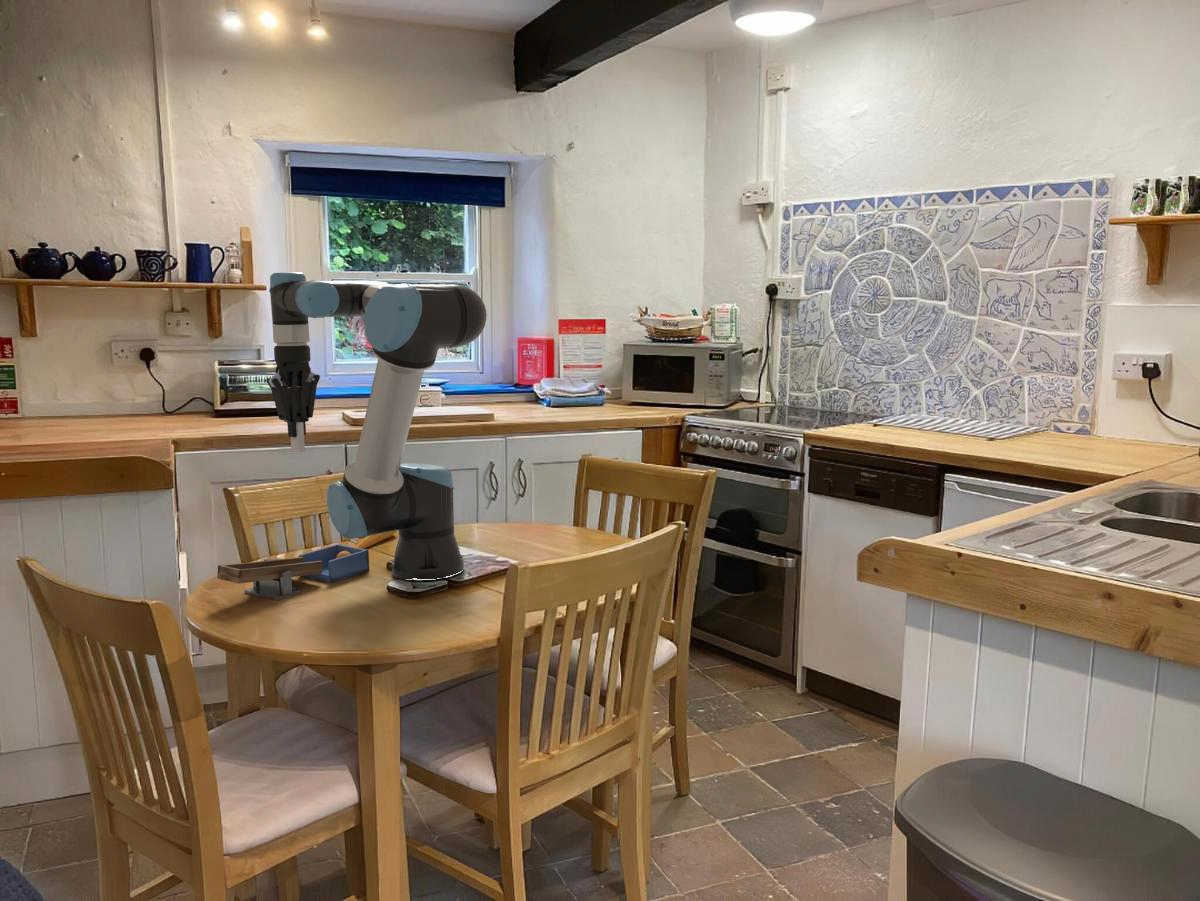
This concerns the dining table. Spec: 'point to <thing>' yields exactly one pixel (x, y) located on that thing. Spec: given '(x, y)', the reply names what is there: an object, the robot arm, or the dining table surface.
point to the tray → (338, 562)
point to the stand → (274, 588)
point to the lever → (267, 569)
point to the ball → (343, 554)
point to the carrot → (374, 539)
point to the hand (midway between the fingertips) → (298, 451)
